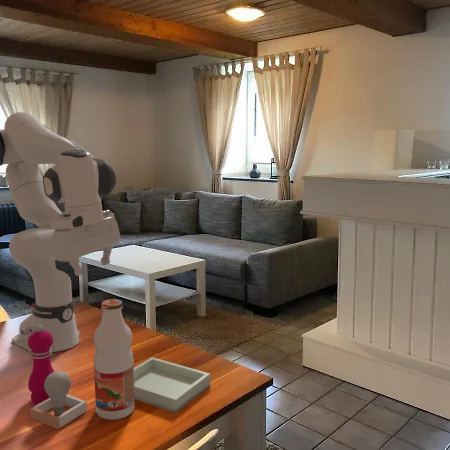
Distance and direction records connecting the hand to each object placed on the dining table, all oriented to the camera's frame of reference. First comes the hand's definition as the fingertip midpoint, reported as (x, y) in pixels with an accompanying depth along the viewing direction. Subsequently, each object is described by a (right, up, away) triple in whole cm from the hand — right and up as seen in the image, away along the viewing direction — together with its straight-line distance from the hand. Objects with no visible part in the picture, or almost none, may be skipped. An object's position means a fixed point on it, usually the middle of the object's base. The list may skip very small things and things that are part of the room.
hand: (93, 269), depth 125 cm
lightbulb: (-7, -35, -5) cm, 36 cm away
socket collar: (-7, -35, -5) cm, 36 cm away
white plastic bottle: (+6, -35, -3) cm, 35 cm away
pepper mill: (-13, -34, +2) cm, 36 cm away
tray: (+17, -33, +8) cm, 38 cm away
